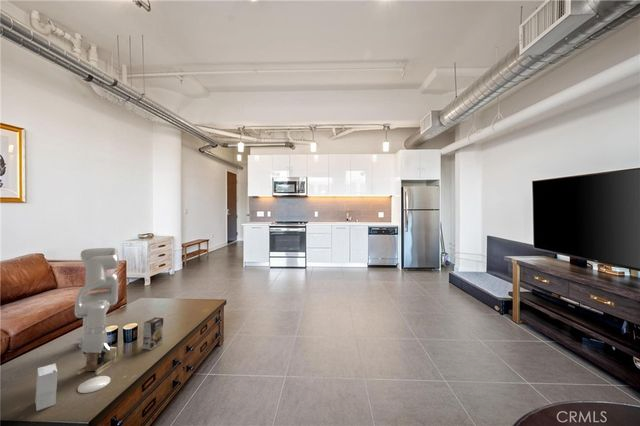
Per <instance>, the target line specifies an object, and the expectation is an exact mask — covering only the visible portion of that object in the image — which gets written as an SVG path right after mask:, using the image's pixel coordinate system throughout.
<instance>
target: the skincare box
mask: <svg viewBox="0 0 640 426" xmlns="http://www.w3.org/2000/svg"><path fill="white" fill-rule="evenodd" d="M36 369H37V373H36V387H35V399H34V403H35V407H36V408H35V409H36V410H35V411H36V412H38V411H42V410H44V409H46V408H49V407H52V406H55V405H56V398H57V385H58V371H59V370H58V369H57V364H56V363H52V364H48V365H44V366H41V367H38V368H36Z"/></svg>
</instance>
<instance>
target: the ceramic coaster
mask: <svg viewBox="0 0 640 426" xmlns="http://www.w3.org/2000/svg"><path fill="white" fill-rule="evenodd" d="M110 383H111V377H109V376H108V375H100V376H99V375H98V376H95V377H92V378H89V379H86V380H85V381H84V382H82V383H80V384H79V385H78V387H77V392H78V393H80V394H90V393H94V392H97V391H99V390H101V389H104V388H106V387H107V386H108V385H109V384H110Z"/></svg>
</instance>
